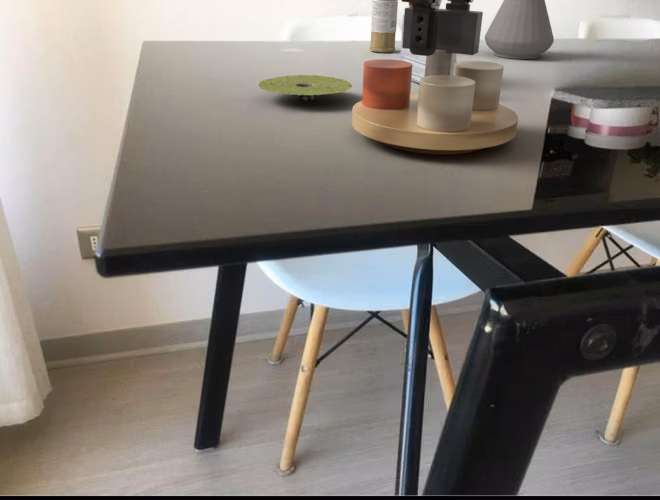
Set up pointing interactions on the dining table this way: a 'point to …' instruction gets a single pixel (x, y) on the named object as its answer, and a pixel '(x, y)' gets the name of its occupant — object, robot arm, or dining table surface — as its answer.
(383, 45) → the sprinkles bottle
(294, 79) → the green flat disc
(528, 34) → the grey faceted vase
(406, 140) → the wooden lazy susan
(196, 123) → the dining table surface
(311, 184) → the dining table surface
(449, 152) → the holder base
